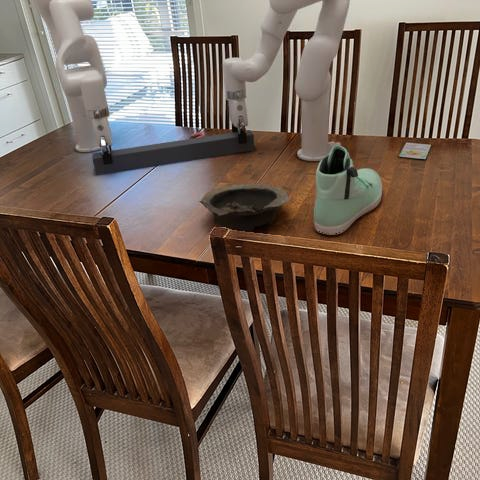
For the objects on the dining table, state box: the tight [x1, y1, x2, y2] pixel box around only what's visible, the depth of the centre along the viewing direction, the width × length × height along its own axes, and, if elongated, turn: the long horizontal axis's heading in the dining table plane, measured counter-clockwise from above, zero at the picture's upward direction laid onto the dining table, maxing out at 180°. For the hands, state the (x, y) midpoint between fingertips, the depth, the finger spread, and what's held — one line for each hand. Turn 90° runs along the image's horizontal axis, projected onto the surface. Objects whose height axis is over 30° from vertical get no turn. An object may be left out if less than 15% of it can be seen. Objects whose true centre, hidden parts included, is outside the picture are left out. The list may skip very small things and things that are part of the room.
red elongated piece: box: [190, 132, 206, 139], centre depth 197 cm, size 6×15×2 cm, turn 145°
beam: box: [91, 129, 255, 176], centre depth 180 cm, size 60×6×6 cm, turn 104°
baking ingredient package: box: [398, 142, 432, 160], centre depth 172 cm, size 9×1×15 cm
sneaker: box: [313, 145, 383, 236], centre depth 133 cm, size 14×35×20 cm, turn 152°
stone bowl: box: [198, 183, 290, 233], centre depth 135 cm, size 25×25×9 cm
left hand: (108, 159), depth 175 cm, fingers open, 9 cm apart
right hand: (239, 139), depth 183 cm, fingers open, 9 cm apart
